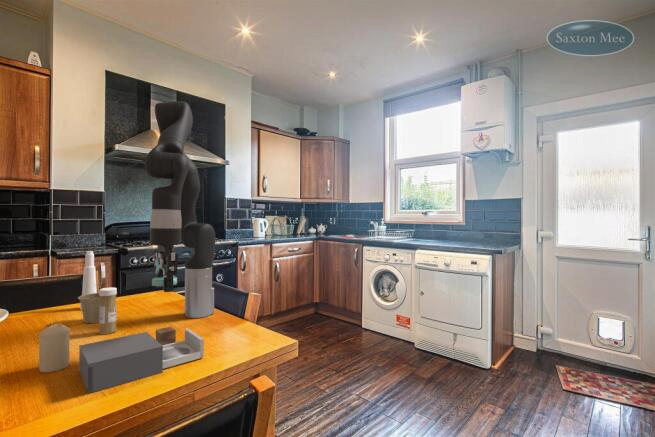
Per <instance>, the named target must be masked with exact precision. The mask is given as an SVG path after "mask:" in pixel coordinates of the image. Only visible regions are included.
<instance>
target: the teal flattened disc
mask: <svg viewBox="0 0 655 437" xmlns="http://www.w3.org/2000/svg"><path fill="white" fill-rule="evenodd" d="M176 285H178V277H177V276H175V277H173V286H176ZM151 286H152V287H157V286H164V277H157V276H156V277H154V278H152V279H151Z"/></svg>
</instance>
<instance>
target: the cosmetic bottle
mask: <svg viewBox="0 0 655 437" xmlns="http://www.w3.org/2000/svg"><path fill="white" fill-rule="evenodd" d="M84 256H85V258H84V260H85V262H84V265H85V266H83V275H82V276H83V277H82V289H81V290H82V291H81V296H82V295H86V294H92V293H98V292H97V291H98V290H97V288H98V287H97V271H96V266H95V254H94V251H93V250H90V251H89V250H87V251H86V252H85V254H84ZM79 310H81V311H82V306H81V304H80V306H79Z"/></svg>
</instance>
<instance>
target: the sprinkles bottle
mask: <svg viewBox="0 0 655 437" xmlns="http://www.w3.org/2000/svg"><path fill="white" fill-rule="evenodd" d="M117 290H118V289H117V287H103V288H100V289H99V290H98V293H99V296H100V306H99V322H98V323H99V332H98V333H99V334H100V335H110V334H113V333H115V332H116V331H117V294H118V291H117Z"/></svg>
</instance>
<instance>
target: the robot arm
mask: <svg viewBox="0 0 655 437" xmlns="http://www.w3.org/2000/svg"><path fill="white" fill-rule="evenodd" d="M154 115H155V119H156V124H157V126H158V131H159V133H160V135H158V136H159V137H158V140H157V144H156V145H155V146H154V147H153V148H152V149H151V150H150V151H149V152H148V153H147V155H146V157H145V160H144V170H145V172H146V173H147V174H148V175H149V176H150V177H151V178H153V179H163V180H165V179H167V180H170V183H171V184H170V185H166V186H161V187H155V188H154V189H153V190H152V191H151V192H152V193H151V214H150V224H149V226H150V228H149V244H150V245H153V246H157V249H154V250H153V270H154V272H155V274H156V278H157V277H164V286H156V289H163V290H162V291H163V292H164V293H171V292H173V291H174V285H173V277H176V276H177V275H178V264H179V263H178V262H179V252H178V251H177V252H175V247H174V246H178V245H181V243H182V244H183V246H184V247H185V248H188V249H194V252H193V255H192V256H191V257H190V258H187V259H186V260H185V261H184V316H185V317H186V318H189V319H197V318H206V317H208V316H211V315H213V314H215V287H213V262H214V260H215V252H216V251H215V250H216V231H215V229H214V226H212V225H211V224H210V223H198V221H197V215H196V214H197V213H196V204H197V200H198V197H199V194H200V192H201V180H200V176H199V171H198V167H197V166H196V164H195V163H194V161H192V160H191V158H190V157H189V156H188V155H187V154H186V153H185V152H184V151H185V150H184V149H185V143H186V142H185V141H186V140H187V137H188V135H189V134H190V132H191V130H192V128H193V125H194V124H193V123H194V118H193V112H192V109H191V107H190V105H189V103H188V102H186V101H183V100H176V101H164V102H163V101H162V102H156V104H155V106H154Z"/></svg>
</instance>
